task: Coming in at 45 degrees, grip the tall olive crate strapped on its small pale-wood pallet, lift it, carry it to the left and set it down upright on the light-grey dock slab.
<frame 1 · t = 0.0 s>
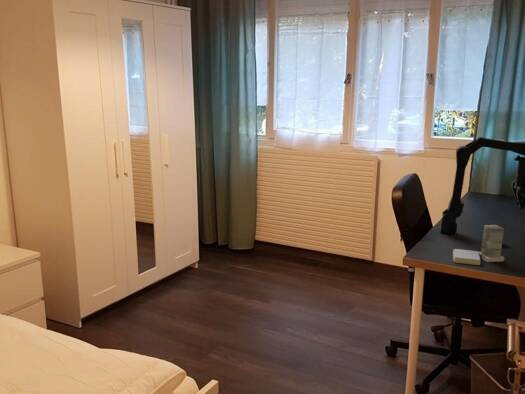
hand: (520, 206, 212), 15 cm above the table, tool pointing down, fingers open, 9 cm apart
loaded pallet: (490, 258, 192), on the table
onion: (494, 243, 210), on the table
dock: (466, 259, 191), on the table
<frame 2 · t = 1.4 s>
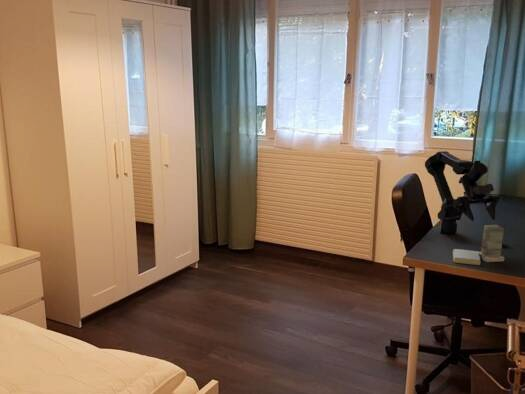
hand: (483, 220, 197), 13 cm above the table, tool tilted 45°, fingers open, 9 cm apart
nothing on the table moved.
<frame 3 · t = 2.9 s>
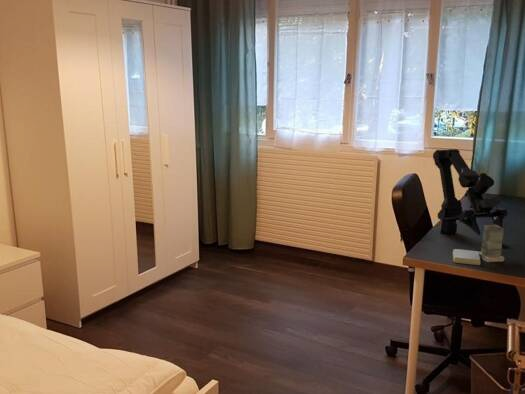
hand: (490, 234, 191), 9 cm above the table, tool tilted 45°, fingers open, 9 cm apart
nothing on the table moved.
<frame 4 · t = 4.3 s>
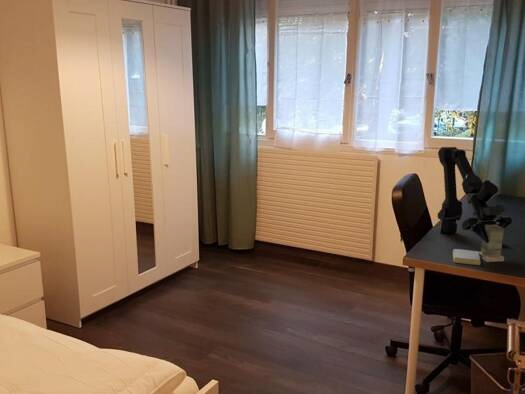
hand: (494, 242, 189), 7 cm above the table, tool tilted 45°, fingers closed on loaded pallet, 5 cm apart
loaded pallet: (490, 258, 192), on the table, touching gripper
everything else where it was.
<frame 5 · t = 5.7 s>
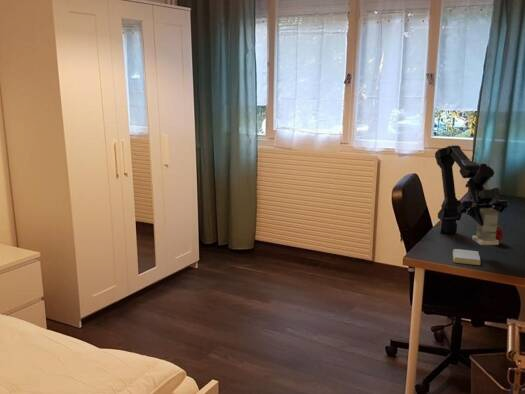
hand: (489, 225, 189), 13 cm above the table, tool tilted 45°, fingers closed on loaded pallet, 5 cm apart
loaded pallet: (485, 241, 192), point 6 cm above the table, touching gripper
everything else where it was.
when the fingers open (10 cm above the table, at t = 7.4 s): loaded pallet stays where it is, resting on dock.
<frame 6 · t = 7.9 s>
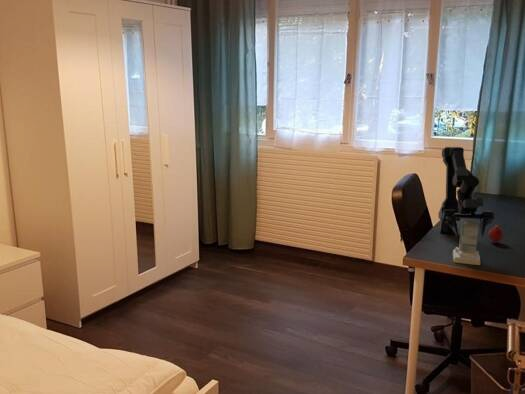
hand: (469, 235, 188), 10 cm above the table, tool tilted 45°, fingers open, 9 cm apart
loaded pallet: (466, 254, 191), point 2 cm above the table, touching dock
everything else where it was.
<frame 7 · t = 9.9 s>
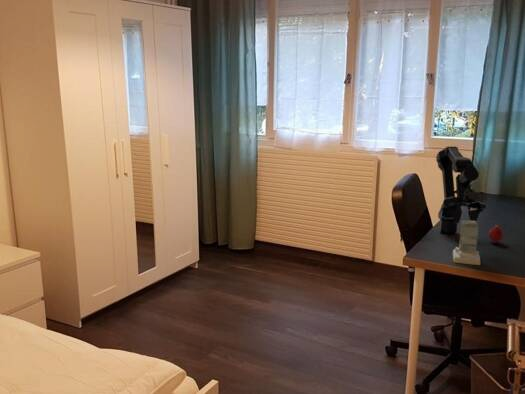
hand: (465, 224, 199), 11 cm above the table, tool tilted 30°, fingers open, 9 cm apart
nothing on the table moved.
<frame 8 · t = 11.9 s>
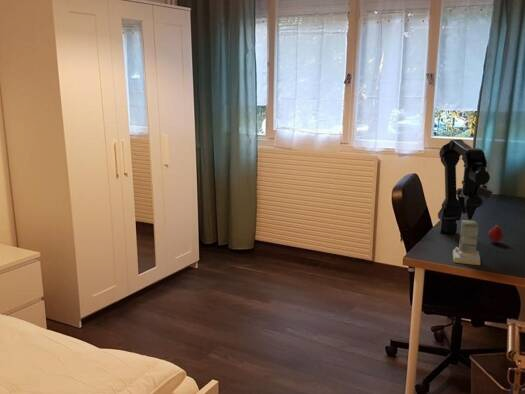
hand: (466, 216, 203), 13 cm above the table, tool pointing down, fingers open, 9 cm apart
nothing on the table moved.
at the end: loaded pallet inside the target area on the dock (0.1 cm from its centre), point 2.0 cm above the dock's base; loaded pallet tilted 0°; the gripper is holding nothing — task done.
